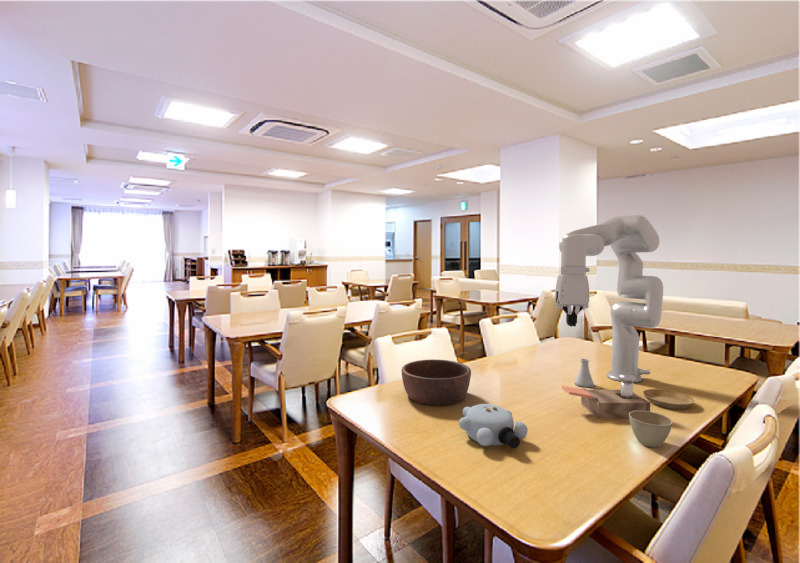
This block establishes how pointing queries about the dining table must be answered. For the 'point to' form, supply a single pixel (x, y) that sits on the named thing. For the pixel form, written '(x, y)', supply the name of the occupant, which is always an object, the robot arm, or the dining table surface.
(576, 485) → the dining table surface
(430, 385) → the wooden bowl
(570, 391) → the plate
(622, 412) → the block
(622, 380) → the pin
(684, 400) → the plant saucer
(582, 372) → the flask
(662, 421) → the beige bowl
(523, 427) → the figurine
